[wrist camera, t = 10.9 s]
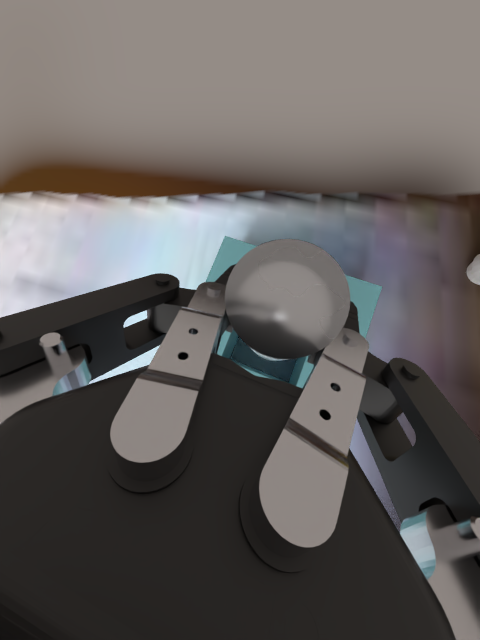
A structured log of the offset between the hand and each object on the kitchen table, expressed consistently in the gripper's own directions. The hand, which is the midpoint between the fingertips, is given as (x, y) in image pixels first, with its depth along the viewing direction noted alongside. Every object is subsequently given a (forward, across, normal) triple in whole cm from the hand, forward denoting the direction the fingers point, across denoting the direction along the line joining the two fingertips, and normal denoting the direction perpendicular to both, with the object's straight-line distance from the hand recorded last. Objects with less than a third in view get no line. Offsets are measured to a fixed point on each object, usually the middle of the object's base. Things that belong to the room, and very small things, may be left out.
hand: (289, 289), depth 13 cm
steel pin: (+2, 0, +5) cm, 5 cm away
